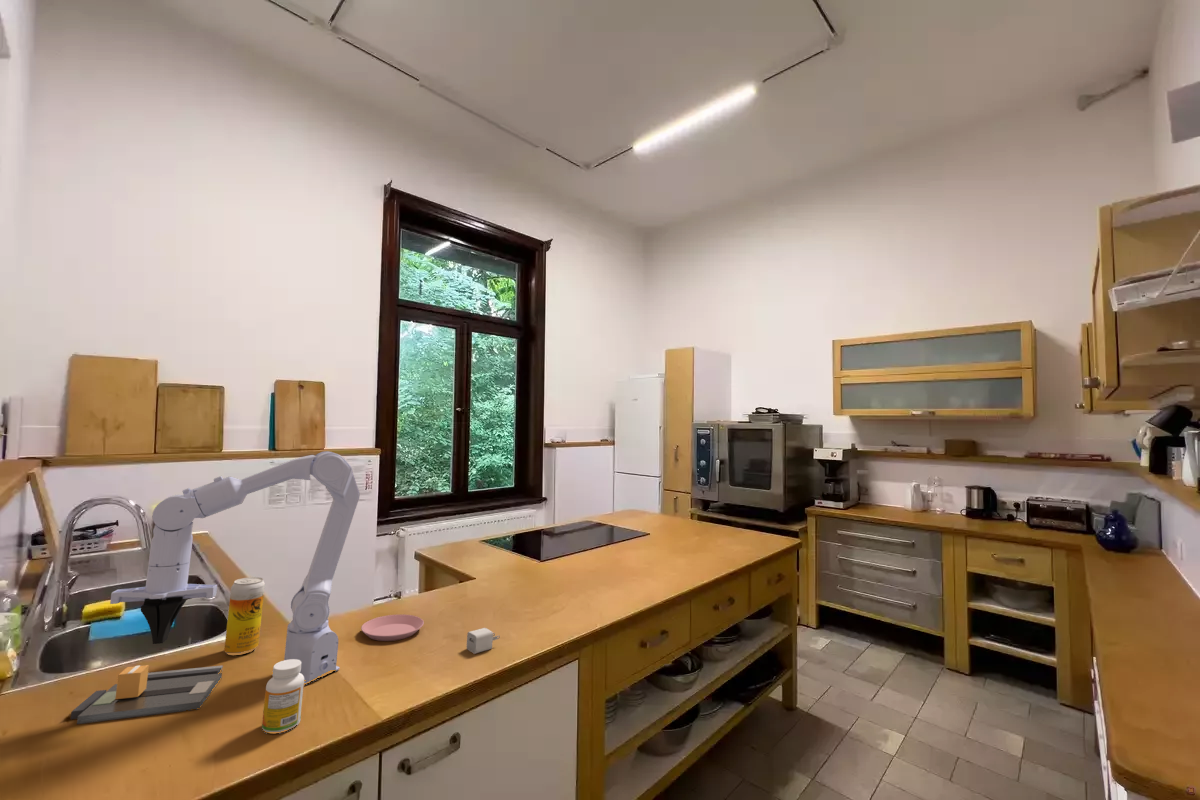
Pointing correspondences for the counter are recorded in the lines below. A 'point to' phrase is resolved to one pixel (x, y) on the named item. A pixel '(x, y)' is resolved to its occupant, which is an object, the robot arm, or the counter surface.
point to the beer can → (244, 615)
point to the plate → (392, 627)
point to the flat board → (151, 676)
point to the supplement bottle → (283, 697)
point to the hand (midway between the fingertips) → (160, 641)
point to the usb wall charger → (480, 640)
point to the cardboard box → (132, 682)
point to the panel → (152, 699)
